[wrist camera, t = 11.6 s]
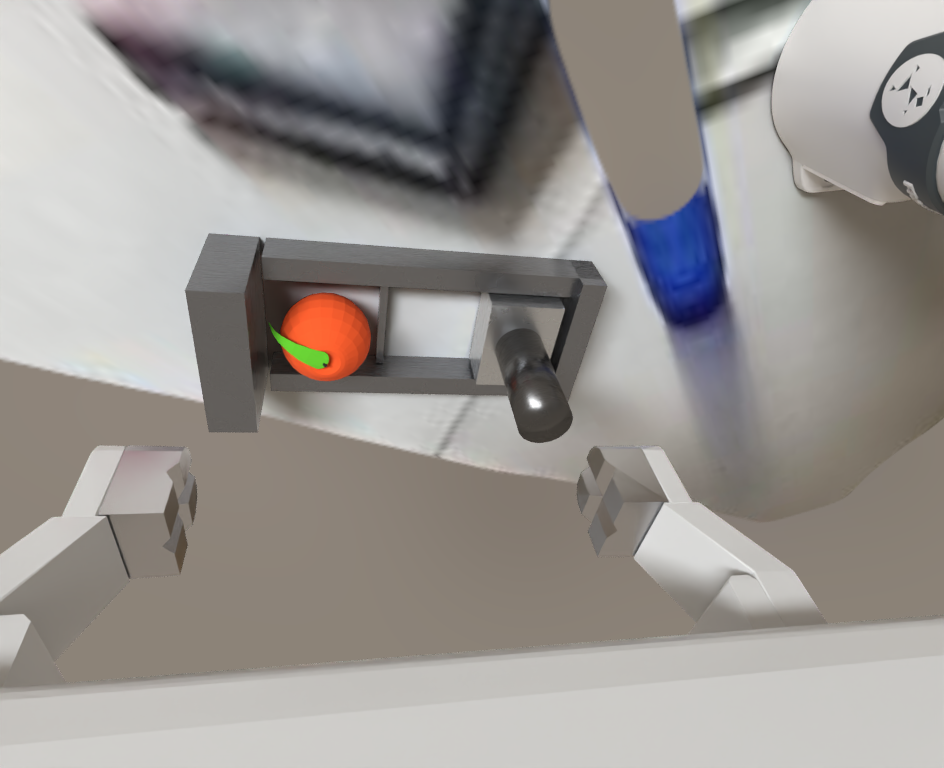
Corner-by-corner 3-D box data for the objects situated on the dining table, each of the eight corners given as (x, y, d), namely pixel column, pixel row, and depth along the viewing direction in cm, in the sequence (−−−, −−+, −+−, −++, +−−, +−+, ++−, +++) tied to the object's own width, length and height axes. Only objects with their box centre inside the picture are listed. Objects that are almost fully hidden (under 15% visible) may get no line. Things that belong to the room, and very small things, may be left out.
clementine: (258, 323, 49) (246, 378, 43) (290, 256, 45) (282, 306, 40) (348, 357, 52) (347, 412, 47) (384, 297, 49) (388, 348, 44)
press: (591, 261, 50) (624, 314, 44) (555, 376, 57) (579, 434, 51) (208, 233, 43) (185, 290, 37) (226, 367, 51) (208, 432, 45)
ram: (552, 283, 50) (600, 380, 40) (531, 358, 55) (570, 461, 45) (483, 279, 49) (516, 378, 39) (469, 356, 54) (494, 461, 44)
